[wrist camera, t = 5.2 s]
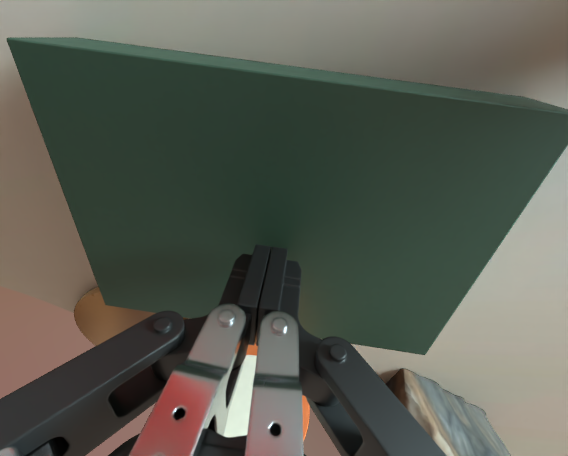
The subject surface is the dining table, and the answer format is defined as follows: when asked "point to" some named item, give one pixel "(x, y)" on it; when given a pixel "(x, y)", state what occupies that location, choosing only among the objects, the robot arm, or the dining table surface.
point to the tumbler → (242, 399)
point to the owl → (447, 417)
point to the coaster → (104, 317)
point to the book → (285, 180)
